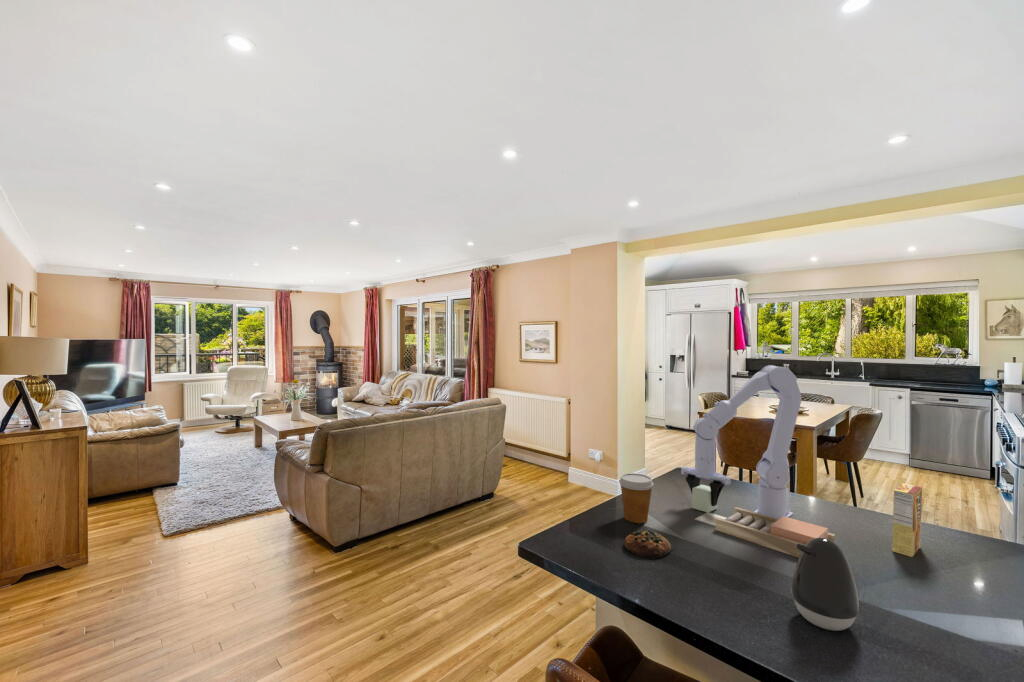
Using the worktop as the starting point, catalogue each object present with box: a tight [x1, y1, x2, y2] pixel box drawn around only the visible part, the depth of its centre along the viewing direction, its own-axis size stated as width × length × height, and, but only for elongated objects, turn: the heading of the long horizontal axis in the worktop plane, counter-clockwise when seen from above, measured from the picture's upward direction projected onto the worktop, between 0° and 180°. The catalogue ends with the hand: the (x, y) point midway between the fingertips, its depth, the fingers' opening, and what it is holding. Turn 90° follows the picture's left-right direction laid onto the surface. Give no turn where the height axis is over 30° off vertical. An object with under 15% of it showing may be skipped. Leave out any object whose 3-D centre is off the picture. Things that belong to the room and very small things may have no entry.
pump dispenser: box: [790, 537, 860, 631], centre depth 83 cm, size 10×10×15 cm
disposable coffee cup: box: [618, 472, 654, 524], centre depth 129 cm, size 10×10×12 cm
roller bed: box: [694, 506, 836, 559], centre depth 120 cm, size 13×31×3 cm, turn 41°
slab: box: [771, 516, 829, 545], centre depth 113 cm, size 9×10×2 cm
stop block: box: [691, 484, 719, 513], centre depth 137 cm, size 6×5×6 cm
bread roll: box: [623, 530, 672, 559], centre depth 112 cm, size 11×11×5 cm
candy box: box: [891, 482, 923, 558], centre depth 112 cm, size 9×4×15 cm, turn 129°
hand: (704, 502), depth 137 cm, fingers closed on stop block, 5 cm apart
